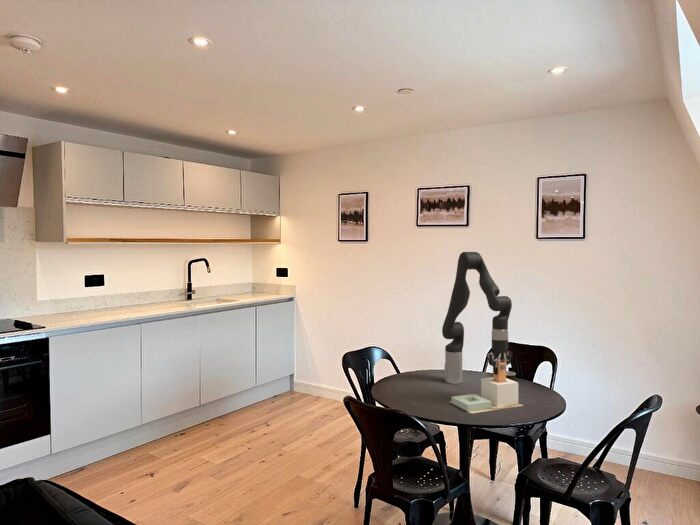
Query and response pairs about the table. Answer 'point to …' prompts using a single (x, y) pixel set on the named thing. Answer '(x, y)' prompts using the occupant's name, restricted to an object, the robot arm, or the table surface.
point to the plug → (500, 372)
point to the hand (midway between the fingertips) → (499, 373)
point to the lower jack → (471, 402)
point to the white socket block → (500, 392)
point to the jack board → (494, 408)
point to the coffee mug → (510, 375)
